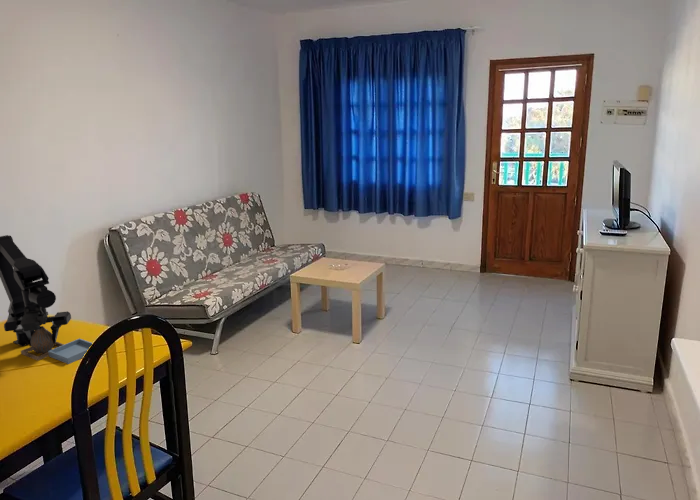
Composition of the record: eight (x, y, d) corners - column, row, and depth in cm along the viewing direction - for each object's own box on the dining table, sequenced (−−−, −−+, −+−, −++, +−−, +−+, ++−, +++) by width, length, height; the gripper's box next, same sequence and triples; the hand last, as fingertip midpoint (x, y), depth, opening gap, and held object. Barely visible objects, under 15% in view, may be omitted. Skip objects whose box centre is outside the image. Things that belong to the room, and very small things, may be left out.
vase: (45, 356, 172) (40, 332, 170) (27, 355, 173) (22, 331, 171) (60, 347, 179) (56, 323, 176) (43, 346, 180) (38, 322, 178)
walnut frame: (21, 354, 174) (20, 350, 174) (50, 342, 183) (50, 339, 182) (37, 360, 169) (37, 357, 169) (67, 348, 178) (66, 345, 177)
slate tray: (49, 356, 172) (48, 351, 172) (80, 343, 181) (79, 338, 181) (68, 364, 166) (67, 358, 166) (99, 350, 176) (98, 344, 175)
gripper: (-8, 313, 162) (2, 359, 166) (58, 306, 166) (66, 351, 170) (6, 301, 172) (15, 344, 176) (67, 295, 176) (75, 337, 180)
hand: (43, 344), depth 175 cm, fingers closed on vase, 7 cm apart
